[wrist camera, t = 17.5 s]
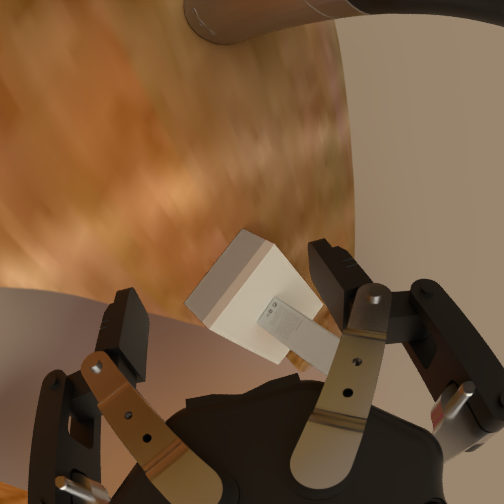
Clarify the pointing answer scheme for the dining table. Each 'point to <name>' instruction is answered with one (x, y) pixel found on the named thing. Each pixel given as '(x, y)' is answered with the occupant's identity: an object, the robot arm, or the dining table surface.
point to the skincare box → (300, 334)
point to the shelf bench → (250, 294)
